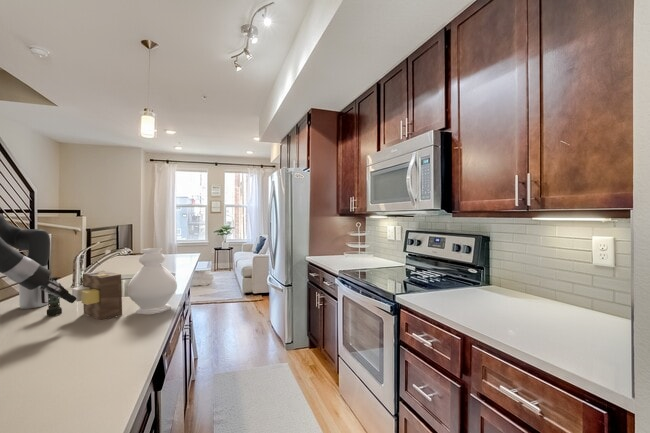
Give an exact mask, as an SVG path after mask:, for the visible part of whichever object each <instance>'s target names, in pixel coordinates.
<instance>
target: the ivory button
mask: <svg viewBox="0 0 650 433" xmlns="http://www.w3.org/2000/svg"><path fill="white" fill-rule="evenodd" d="M85 290H90V288H89V287H85V286H84V287H83V286H80V287H73V288H71V295H73V296H74V297H76V298H77V299H76V300H75V301H74V302H77V303H78V302H82V296H81V291H85Z"/></svg>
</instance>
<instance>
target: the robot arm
mask: <svg viewBox="0 0 650 433" xmlns="http://www.w3.org/2000/svg"><path fill="white" fill-rule="evenodd" d="M17 250H19V251H22V252H23V251H24V252H25V251H26V252H27V251H28V253H27V256H25V255H24V254H22V253H21V252H19V251H17ZM50 250H51V238H50V235H49V233H48V232H47V230H44V229H41V228H38V229H37V228H36V229H35V228H33V229H31V228H30V229H29V228H28V229H27V228H21V227H19V226H18V227H17V226H15V225H13V224H11V223H10V222H7V220H6V218H5V216H4V215H3V214H2V213H0V273H1V274H2V275H4V276H5V277H7V278H8V279H10V280H11V281H12V282H14V283H17V284H18V296H19V301H18V302H19V309H21V310H27V309H28V310H29V309H35V308H41V307H44V306H47V305H48V303H42V301H41V290H43V291H45V302H48V293H50V294H51V295H54V296H58V298H59V297H60V299H63V300H64V301H66V302H68V303H69V304H73V303H75V302H76V301H75V300H76V299H77V298H76V297H74V296H73V295H72V293H70V292H69V290H67V289H66V288H65V287H64V286H63V285H62V284H61V285H59V284H58V281H57V282H56V281H55V280H51V279H49V280H48V278H49V277H50V276H51V274H52V273H51V270H50V269H48V268H49V267H48V263H49V262H48V261H49V260H50V254H51V253H50V252H51V251H50Z"/></svg>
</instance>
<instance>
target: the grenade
mask: <svg viewBox="0 0 650 433" xmlns="http://www.w3.org/2000/svg"><path fill="white" fill-rule="evenodd" d="M49 279H51V280H55V281H56V282H57V283H58V279H59V280H60V279H62V278H61V277H58V276H55V277H54V276H53V277H50V278H49V277H48V280H49ZM58 284H59V285H61V286H62V284H61V283H60V282H59V283H58ZM60 299H61V298H60V297H58V296H54V295H51V294H50V293H48V302H45V291H43V290H41V301H42V303H48V304H47V305H48V309H46V316H48V317H54V316H55V317H56V316H59V315H61V314H63V309H62V307H61V304H60V303H61V302H60V301H61V300H60Z"/></svg>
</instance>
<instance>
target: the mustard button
mask: <svg viewBox="0 0 650 433" xmlns="http://www.w3.org/2000/svg"><path fill="white" fill-rule="evenodd" d="M81 296H82V301H81V304H83V305H84V304H86V305H89V304H93V303H98V302H100V291H99V290H96V289H90V290H85V291H81Z"/></svg>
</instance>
